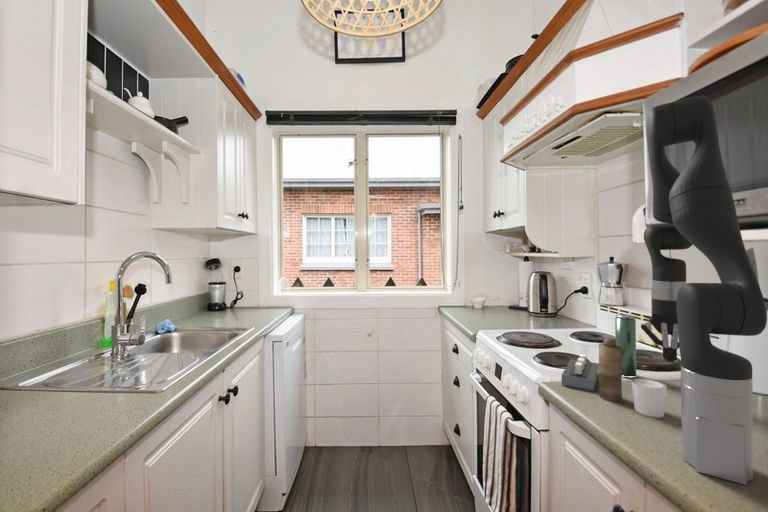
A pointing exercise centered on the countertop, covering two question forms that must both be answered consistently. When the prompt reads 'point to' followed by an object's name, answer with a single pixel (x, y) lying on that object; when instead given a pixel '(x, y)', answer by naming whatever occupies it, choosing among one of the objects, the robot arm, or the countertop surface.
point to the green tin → (626, 342)
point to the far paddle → (584, 357)
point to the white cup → (649, 397)
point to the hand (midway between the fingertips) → (669, 361)
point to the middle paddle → (581, 361)
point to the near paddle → (578, 368)
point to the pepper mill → (610, 371)
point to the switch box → (581, 376)
